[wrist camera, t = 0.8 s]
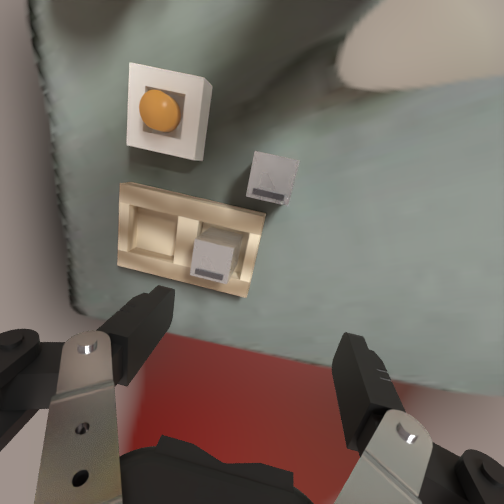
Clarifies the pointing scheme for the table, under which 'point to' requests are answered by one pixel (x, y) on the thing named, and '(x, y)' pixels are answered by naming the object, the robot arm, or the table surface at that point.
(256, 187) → the steel billet
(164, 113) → the button
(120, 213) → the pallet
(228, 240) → the block
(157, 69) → the box
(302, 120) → the table surface
